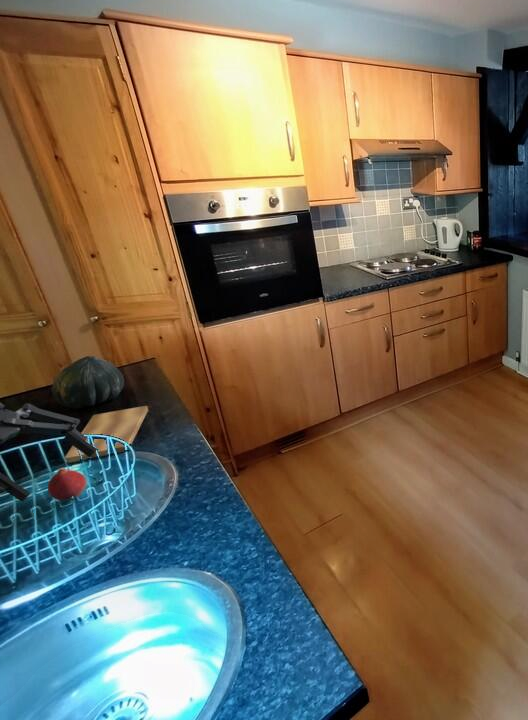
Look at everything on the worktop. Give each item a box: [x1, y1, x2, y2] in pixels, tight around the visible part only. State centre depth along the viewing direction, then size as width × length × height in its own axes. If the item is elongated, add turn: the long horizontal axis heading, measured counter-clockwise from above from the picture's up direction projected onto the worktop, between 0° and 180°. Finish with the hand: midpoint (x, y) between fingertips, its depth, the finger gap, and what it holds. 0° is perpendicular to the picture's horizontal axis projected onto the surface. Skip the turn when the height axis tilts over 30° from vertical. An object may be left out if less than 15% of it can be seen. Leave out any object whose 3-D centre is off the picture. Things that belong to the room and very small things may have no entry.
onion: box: [47, 467, 88, 501], centre depth 96 cm, size 6×6×8 cm
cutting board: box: [64, 405, 149, 464], centre depth 118 cm, size 12×20×2 cm, turn 25°
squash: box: [51, 355, 125, 409], centre depth 130 cm, size 14×15×15 cm
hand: (62, 474), depth 95 cm, fingers open, 13 cm apart
